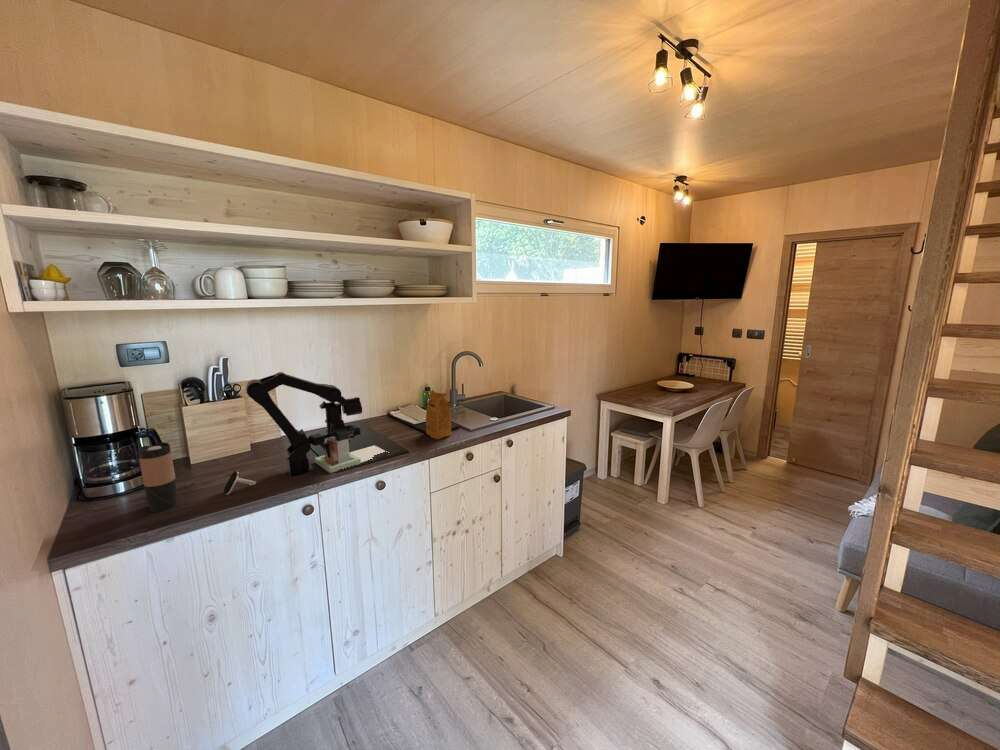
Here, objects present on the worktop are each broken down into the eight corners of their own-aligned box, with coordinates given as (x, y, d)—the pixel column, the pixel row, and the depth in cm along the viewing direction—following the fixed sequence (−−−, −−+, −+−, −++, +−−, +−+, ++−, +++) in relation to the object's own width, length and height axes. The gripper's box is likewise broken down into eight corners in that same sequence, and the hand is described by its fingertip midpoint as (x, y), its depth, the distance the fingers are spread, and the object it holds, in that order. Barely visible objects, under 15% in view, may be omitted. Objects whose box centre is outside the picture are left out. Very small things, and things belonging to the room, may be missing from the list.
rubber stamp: (226, 496, 132) (238, 473, 134) (222, 492, 135) (234, 469, 137) (249, 501, 138) (261, 478, 139) (245, 496, 141) (256, 474, 143)
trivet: (361, 463, 159) (360, 462, 159) (346, 454, 168) (346, 453, 168) (390, 454, 168) (389, 453, 168) (374, 446, 177) (374, 445, 177)
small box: (325, 464, 159) (322, 439, 157) (336, 459, 163) (334, 434, 161) (339, 468, 155) (337, 442, 153) (350, 463, 160) (348, 438, 158)
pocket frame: (330, 473, 150) (329, 468, 150) (315, 463, 160) (314, 457, 159) (360, 464, 159) (360, 459, 158) (344, 454, 168) (344, 449, 168)
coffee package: (441, 430, 200) (440, 387, 195) (454, 436, 190) (453, 391, 186) (423, 434, 194) (421, 390, 190) (435, 441, 184) (434, 395, 180)
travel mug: (168, 512, 123) (157, 451, 119) (141, 513, 123) (130, 451, 119) (185, 499, 131) (175, 442, 127) (160, 500, 130) (150, 442, 126)
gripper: (318, 427, 143) (321, 468, 146) (366, 416, 157) (368, 454, 159) (306, 421, 151) (309, 460, 154) (353, 411, 164) (355, 447, 167)
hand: (337, 455), depth 158 cm, fingers closed on small box, 6 cm apart
